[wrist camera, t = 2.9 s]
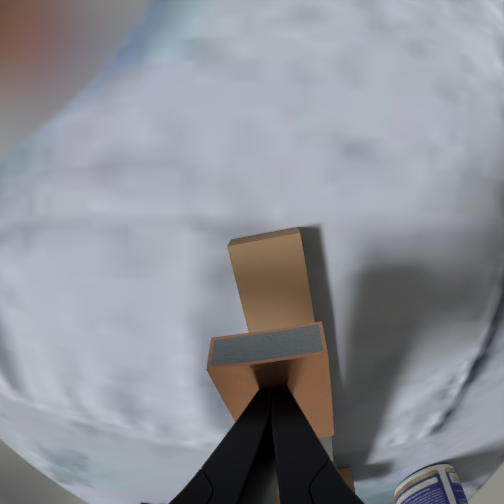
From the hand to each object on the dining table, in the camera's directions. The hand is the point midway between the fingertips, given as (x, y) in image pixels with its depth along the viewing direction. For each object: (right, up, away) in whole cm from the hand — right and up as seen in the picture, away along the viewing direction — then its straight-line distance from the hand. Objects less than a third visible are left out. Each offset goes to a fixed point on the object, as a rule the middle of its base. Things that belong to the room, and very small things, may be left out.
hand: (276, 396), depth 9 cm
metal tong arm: (+2, -6, +5) cm, 8 cm away
